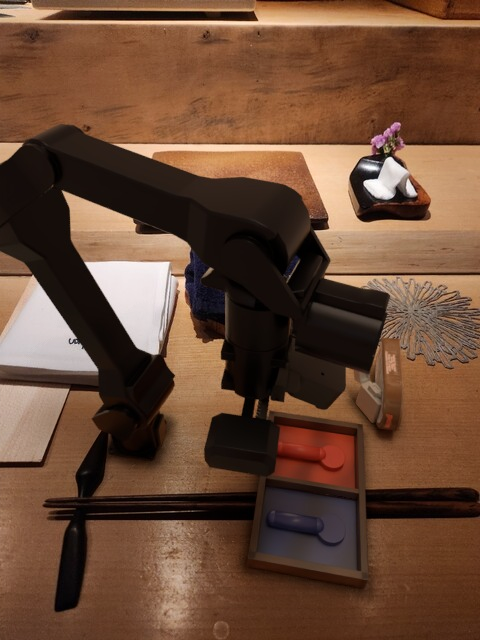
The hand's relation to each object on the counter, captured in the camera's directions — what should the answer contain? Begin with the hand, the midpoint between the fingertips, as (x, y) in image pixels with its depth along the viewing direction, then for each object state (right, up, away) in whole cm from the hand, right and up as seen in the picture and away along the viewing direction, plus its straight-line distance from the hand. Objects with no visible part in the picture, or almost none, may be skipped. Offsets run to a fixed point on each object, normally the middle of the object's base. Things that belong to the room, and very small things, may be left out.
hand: (251, 430), depth 51 cm
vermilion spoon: (+8, -6, +10) cm, 14 cm away
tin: (+20, 0, +19) cm, 28 cm away
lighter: (+18, -3, +18) cm, 25 cm away
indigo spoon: (+6, -12, +3) cm, 14 cm away
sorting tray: (+8, -10, +7) cm, 14 cm away
